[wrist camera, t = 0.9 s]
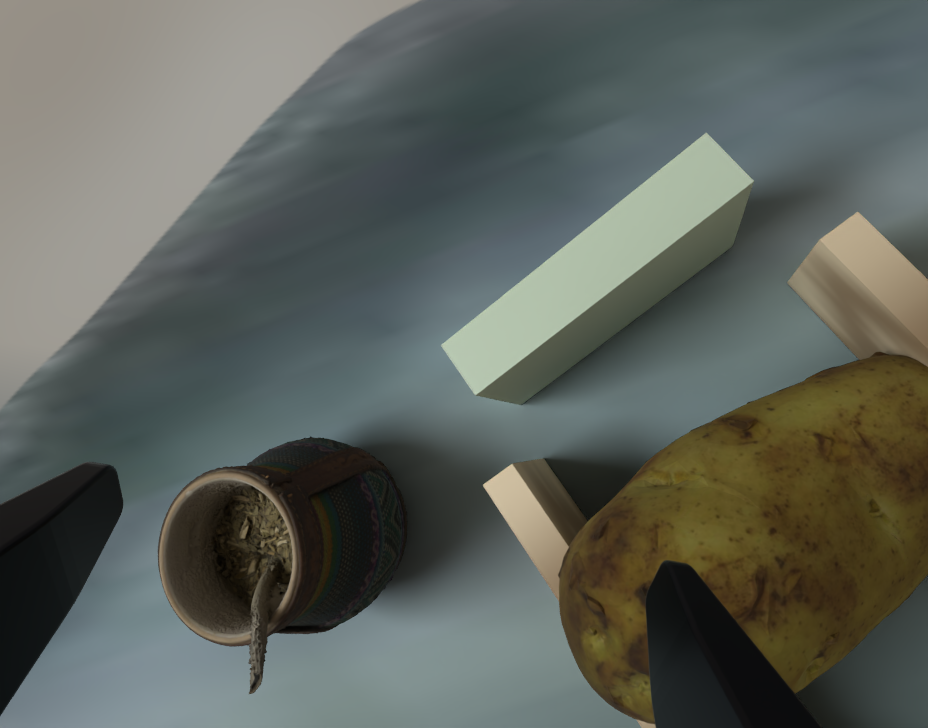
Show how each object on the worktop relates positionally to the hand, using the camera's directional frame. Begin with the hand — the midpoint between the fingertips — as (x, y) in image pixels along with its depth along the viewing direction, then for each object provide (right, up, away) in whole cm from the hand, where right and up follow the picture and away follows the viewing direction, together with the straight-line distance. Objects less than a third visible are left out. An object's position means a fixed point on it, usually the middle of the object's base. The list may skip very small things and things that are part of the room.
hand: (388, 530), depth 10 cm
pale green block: (+7, +5, +14) cm, 16 cm away
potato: (+12, -3, +11) cm, 16 cm away
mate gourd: (-3, -4, +16) cm, 17 cm away
